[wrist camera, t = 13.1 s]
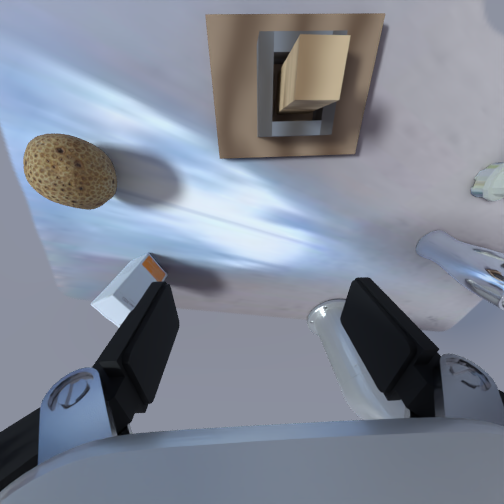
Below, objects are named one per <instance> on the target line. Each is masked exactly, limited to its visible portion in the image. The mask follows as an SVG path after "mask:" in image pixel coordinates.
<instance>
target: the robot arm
mask: <svg viewBox="0 0 504 504" xmlns="http://www.w3.org/2000/svg"><path fill="white" fill-rule="evenodd" d="M307 324H308V327H309V329H310V330H311V332H312V333H314V334H316V335H318V336H319V337H320V340H321V342H322V345H323V347H324V349H325V352H326V354H327V357H328V359H329V362H330V364H331V366H332V369H333V371H334V374H335V376H336V378H337V381H338V383H339V386H340V388H341V390H342V393H343V395H344V398H345V400H346V402H347V404H348V405H349V407H350V408H351V409H352V410H353V412H354V413H355V414H357V415H358V416H359V417H360V418H361V419H363V420H353V421H332V422H313V423H293V424H275V425H256V426H238V427H222V428H204V429H187V430H174V431H161V432H150V433H136V434H132V430H131V427H130V422H131V421H132V419H133V416H134V414H135V413H145V412H146V409H147V406H148V404H150V403H152V402H153V400H154V398H155V394H156V392H157V389H158V386H159V383H160V380H161V378H162V375H163V372H164V369H165V366H166V363H167V361H168V358H169V355H170V352H171V349H172V346H173V343H174V341H175V338H176V335H177V332H178V329H179V319H178V315H177V311H176V307H175V303H174V299H173V295H172V291H171V287H170V285H169V284H167V283H166V282H165V281H159V282H152V283H151V284H150V286H149V287H148V289H147V290H146V292H145V293H144V295H143V296H142V298H141V299H140V301H139V302H138V304H137V305H136V307H135V308H134V309H133V310H132V311H131V312H130V313H129V314H128V316H127V317H126V319H125V320H124V321H123V323H122V324H121V326H120V327H119V329H118V330H117V332H116V333H115V335H114V336H113V338H112V339H111V341H110V342H109V343H108V345H107V346H106V348H105V349H104V351H103V352H102V354H101V355H100V357H99V358H98V360H97V361H96V362H95V364H94V365H93V367H92V368H90V367H85V368H81V369H78V370H75V371H73V372H71V373H69V374H67V375H66V376H64V377H63V378H61V379H60V380H59V381H58V382H57V383H55V384H54V385H53V386H52V387H51V389H50V390H49V391H48V392H47V393H46V395H45V397H44V398H43V400H42V403H41V407H40V408H38V409H37V410H35V411H33V412H32V413H30V414H29V415H27V416H25V417H24V418H22V419H21V420H19V421H18V422H16V423H14V424H13V425H11V426H9V427H8V428H6V429H5V430H3V431H2V432H0V504H504V393H503V392H502V391H500V390H498V388H497V385H496V384H495V382H494V380H493V379H492V378H491V377H490V376H489V374H488V373H486V372H485V371H484V370H483V369H482V368H481V367H479V366H478V365H476V364H475V363H473V362H472V361H470V360H468V359H466V358H464V357H461V356H458V355H455V354H443V355H442V356H440V355H439V354H438V353H437V351H438V350H439V348H438V347H437V346H436V345H435V344H434V343H433V342H432V341H431V340H430V339H429V338H428V337H427V336H426V335H425V334H424V333H423V332H422V331H421V330H420V329H419V328H418V327H417V326H416V325H415V324H414V323H413V322H412V321H411V320H410V318H409V317H408V316H407V315H406V314H405V313H404V312H403V311H402V310H401V309H400V308H399V307H398V306H397V305H396V304H395V303H394V302H393V301H392V300H391V299H390V298H389V297H388V296H387V295H386V294H385V293H384V292H383V291H382V290H381V289H380V288H379V287H378V286H377V285H376V284H375V283H374V282H373V281H372V280H371V279H370V278H368V277H367V278H356V279H355V280H354V281H352V283H351V286H350V289H349V292H348V295H347V298H346V300H342V299H335V300H330V301H326V302H324V303H322V304H320V305H318V306H317V307H315V308H314V309H313V310H312V311H311V313H310V314H309V316H308V319H307Z"/></svg>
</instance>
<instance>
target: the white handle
mask: <svg viewBox="0 0 504 504" xmlns="http://www.w3.org/2000/svg"><path fill="white" fill-rule="evenodd" d="M474 179H475V180H476V181H475V184H474V186H473V187H471V194H472V195H474V196H475V197H483V198H485V199H486V200H488V201H497V200H501V199H503V198H504V163H495V164H490V166H488V167H487V168H486V169H484V170H483V171H480V172H479V173H478V175H477V176H476V177H475V178H474Z"/></svg>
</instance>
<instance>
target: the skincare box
mask: <svg viewBox="0 0 504 504" xmlns="http://www.w3.org/2000/svg"><path fill="white" fill-rule="evenodd" d="M167 275H168V274H167V273H166V272H165V271H164V270H163V269H162V268H161V266H160V265H159V264H158V263H157V262H156V261H155V259H154V258H153V257H152V256H151V254H150V253H146V254H144V255H142V256H140V257H138V258H136V259H134V260H132V261H131V262H130V263H129V264H128V265H127V266H126V267H125V268H124V269H123V270H122V271H121V272H120V273H119V274H118V275H117V277H116V278H115V279H114V280H113V281H112V282H111V283H110V284H109V285H108V286H107V287H106V288H105V289H104V290H103V292H102V293H101V294H100V295H99V296H98V297H97V298H96V299H95V300H94V301H93V302H92V303H91V305H92V306H93V307H94V308H95V309H96V310H98V311H99V312H100V313H101V314H102V315H103V316H104V317H105V318H107V319H108V320H110V321H111V322H113V323H114V324H115V325H117V326H118V327H120V326H121V324H122V323H123V321H124V320H125V319H126V317H127V316H128V314H129V313H130V312H131V311H132V310H133V309H134V308H135V307H136V305H137V304H138V302H139V301H140V299H141V298H142V296H143V295H144V293H145V292H146V290H147V289H148V287H149V286H150V284H151V283H152V282H159V281H164V280H165V278H166V277H167Z"/></svg>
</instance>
